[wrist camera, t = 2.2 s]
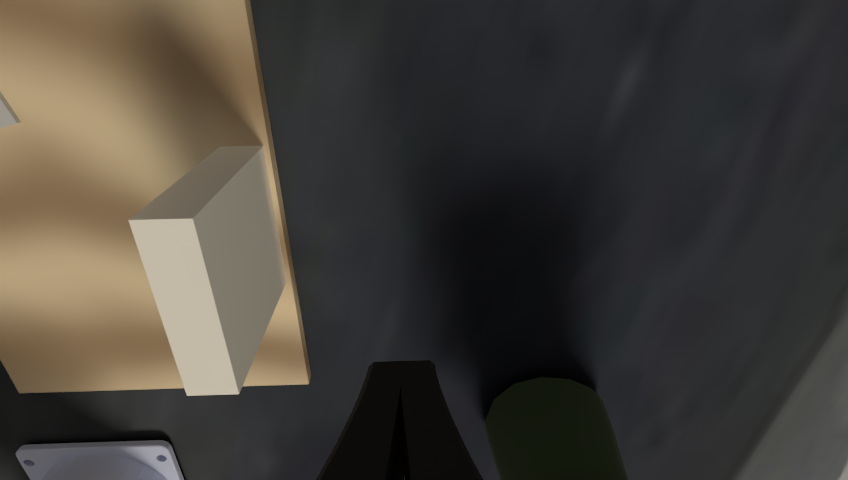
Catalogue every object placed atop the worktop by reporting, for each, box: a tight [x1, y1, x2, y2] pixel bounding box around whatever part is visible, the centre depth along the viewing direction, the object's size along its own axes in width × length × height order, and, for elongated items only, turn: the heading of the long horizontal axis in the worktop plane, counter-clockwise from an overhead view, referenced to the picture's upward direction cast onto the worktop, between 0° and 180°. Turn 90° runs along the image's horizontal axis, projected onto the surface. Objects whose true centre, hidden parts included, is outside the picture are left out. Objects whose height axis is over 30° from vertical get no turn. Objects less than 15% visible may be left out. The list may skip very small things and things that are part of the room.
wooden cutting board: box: [0, 0, 311, 393], centre depth 19 cm, size 18×14×1 cm
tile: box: [128, 146, 287, 396], centre depth 16 cm, size 6×2×6 cm, turn 1°
